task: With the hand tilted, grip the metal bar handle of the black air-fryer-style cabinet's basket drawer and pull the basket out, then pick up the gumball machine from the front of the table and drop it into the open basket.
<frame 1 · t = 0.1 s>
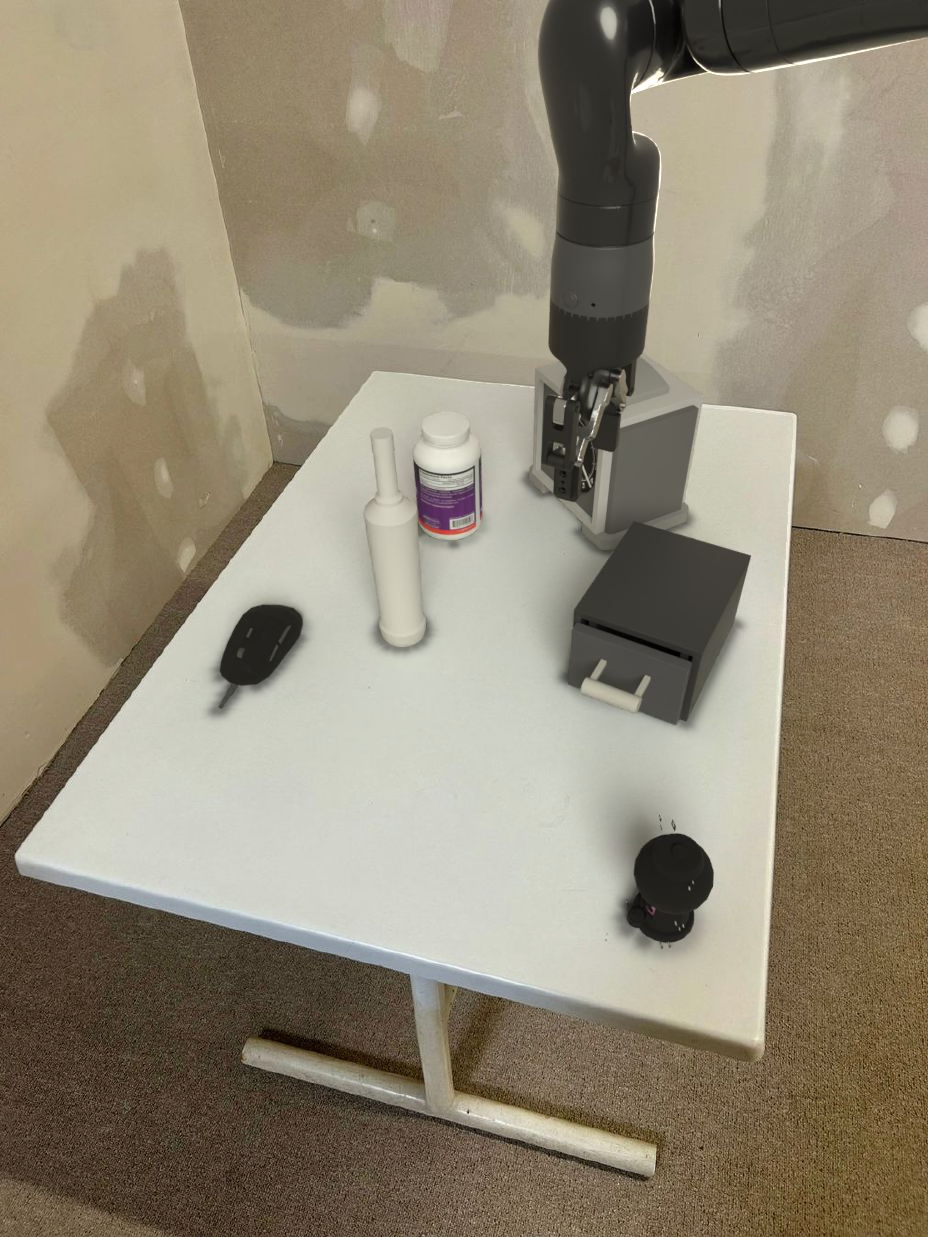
hand: (586, 472, 76), 23 cm above the table, tool pointing down, fingers open, 8 cm apart
bottle: (403, 633, 95), on the table
basket: (643, 644, 85), point 5 cm above the table, slide at 0.5 cm
alarm clock: (605, 498, 111), on the table
pill bottle: (450, 525, 108), on the table
gumball machine: (660, 915, 70), on the table
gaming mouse: (256, 659, 92), on the table
fryer: (653, 649, 91), on the table
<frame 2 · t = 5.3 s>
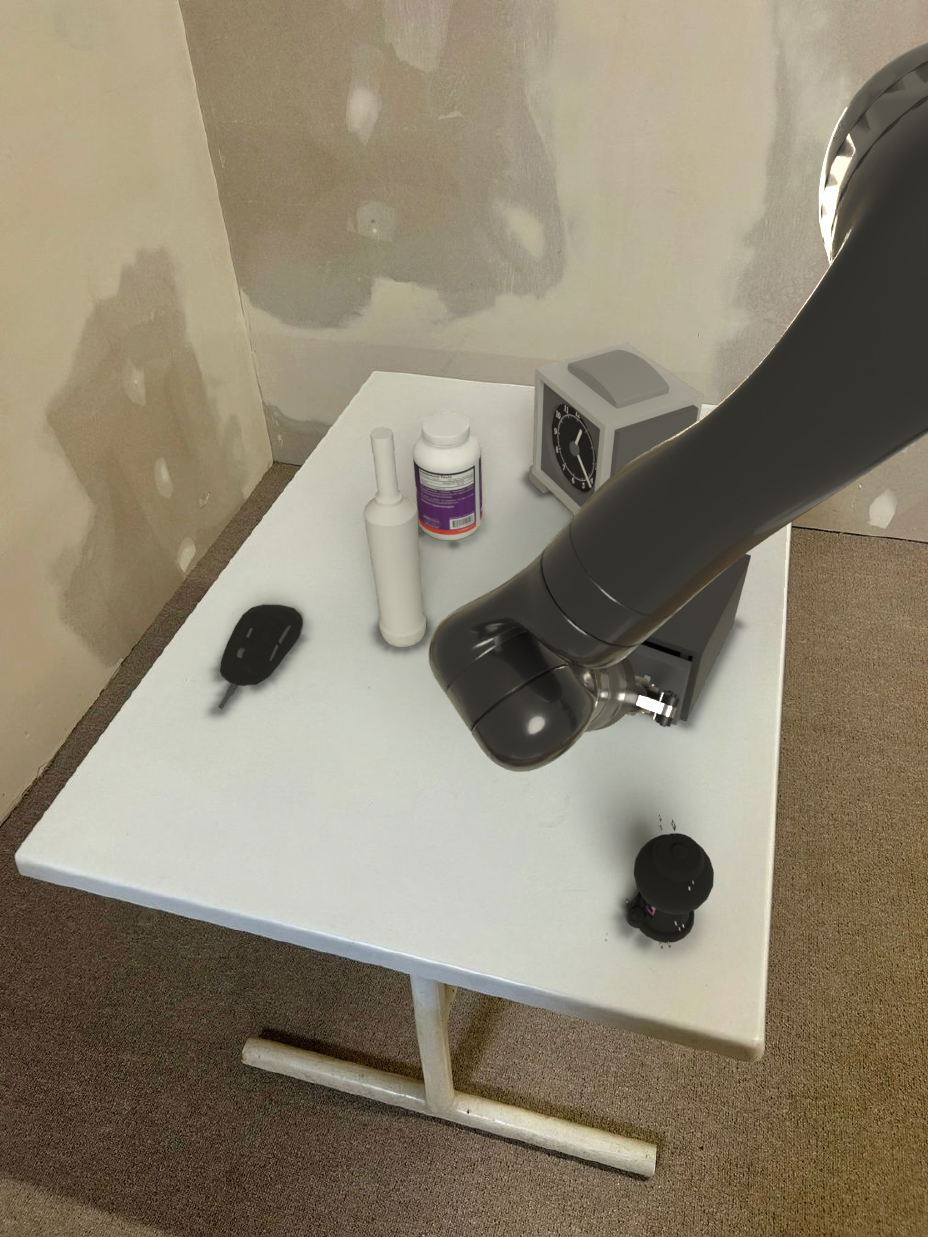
hand: (620, 684, 82), 5 cm above the table, tool tilted 45°, fingers closed on basket, 5 cm apart
basket: (643, 644, 85), point 5 cm above the table, slide at 0.5 cm, touching gripper
everything else where it was.
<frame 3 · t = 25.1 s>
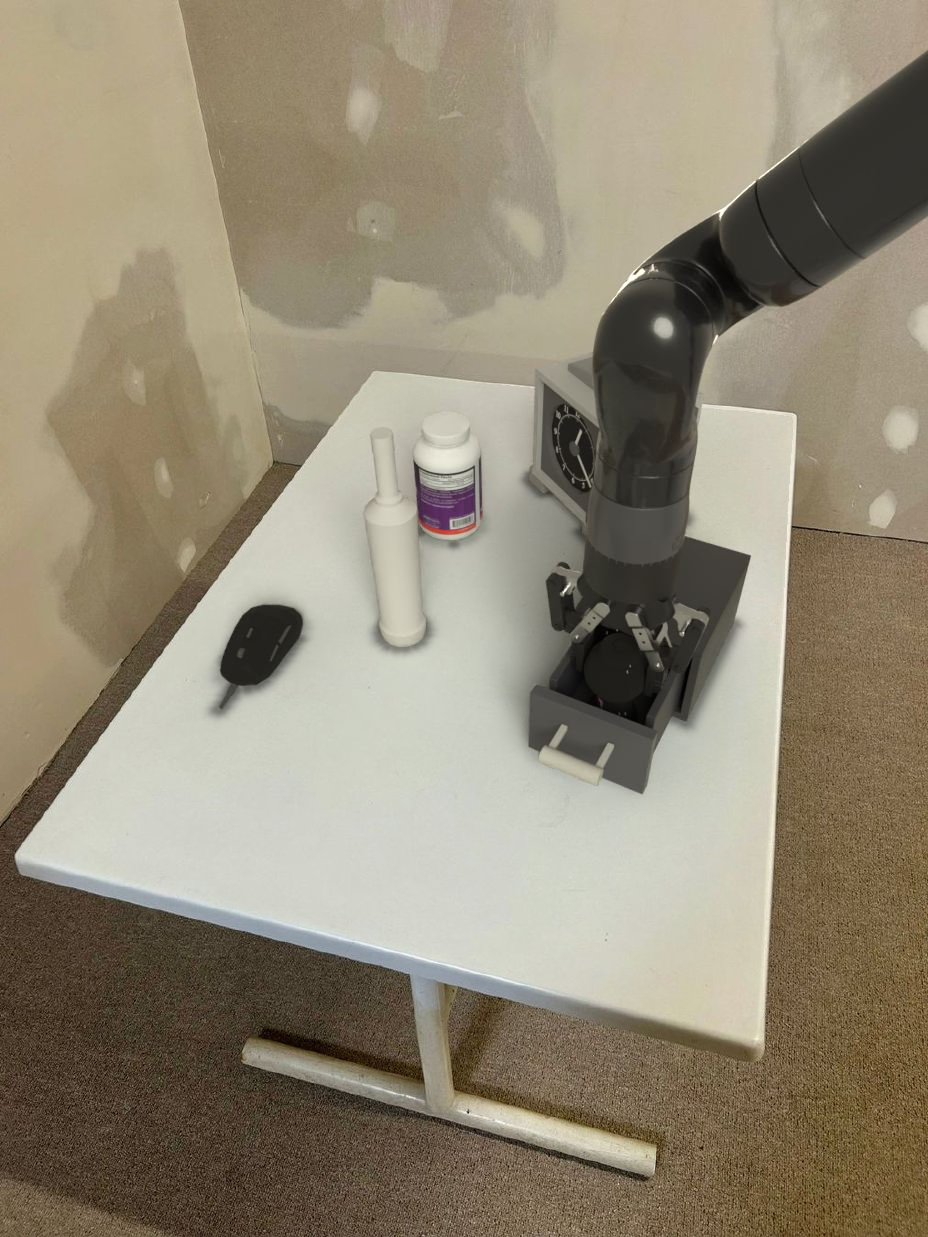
hand: (616, 676, 78), 8 cm above the table, tool pointing down, fingers closed on gumball machine, 6 cm apart
basket: (608, 705, 80), point 5 cm above the table, slide at 9.5 cm
gumball machine: (609, 717, 82), point 2 cm above the table, touching gripper
everything else where it was.
when the fingers open (10 cm above the table, at t = 38.3 s): gumball machine drops 2 cm, resting on basket.
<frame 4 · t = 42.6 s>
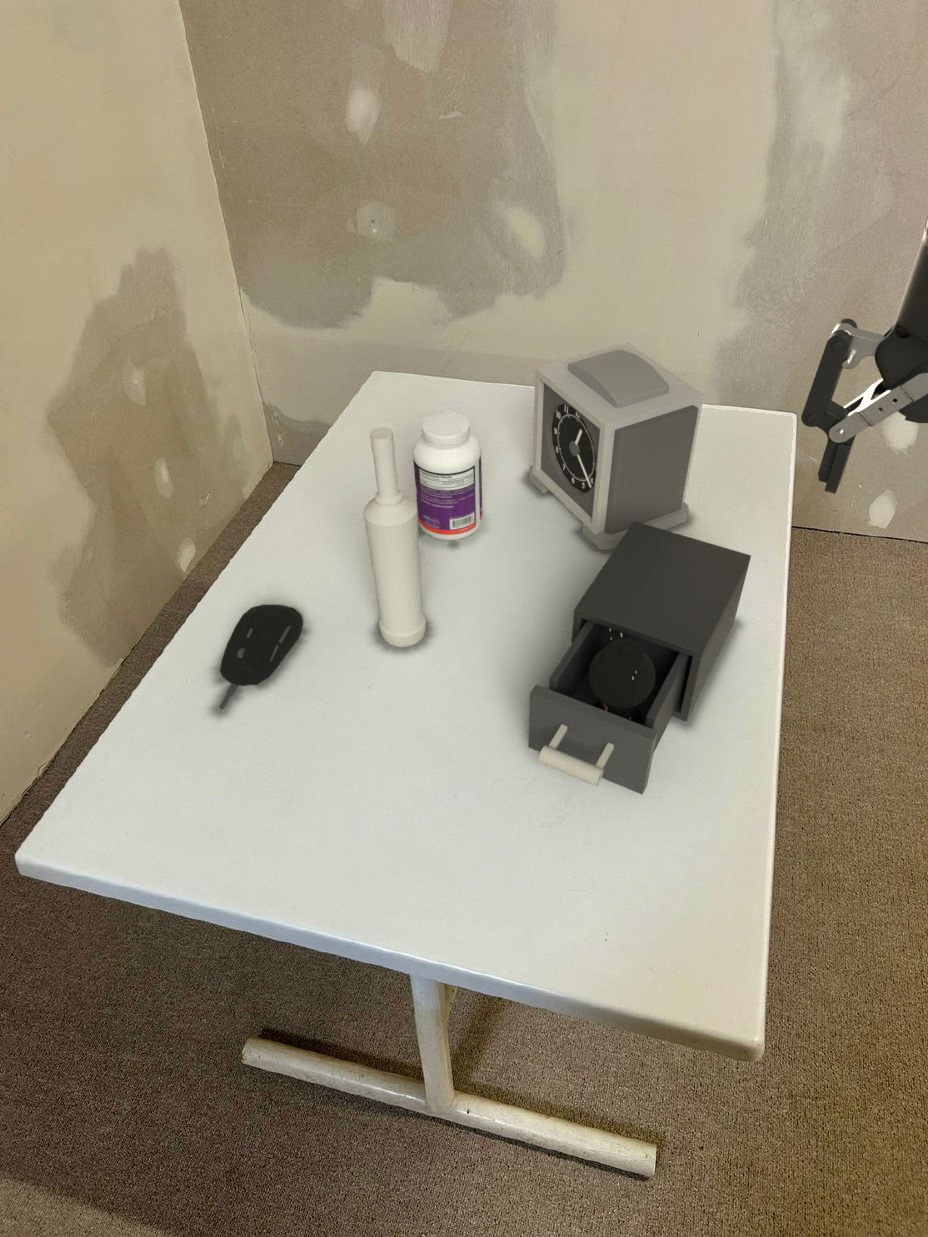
hand: (902, 504, 54), 33 cm above the table, tool pointing down, fingers open, 8 cm apart
basket: (608, 705, 80), point 5 cm above the table, slide at 9.5 cm, touching gumball machine
gumball machine: (613, 723, 82), point 2 cm above the table, touching basket
everything else where it was.
at the end: basket slide at 9.5 cm; gumball machine inside the target area in the basket (0.5 cm from its centre), point 1.8 cm above the fryer's base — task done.
